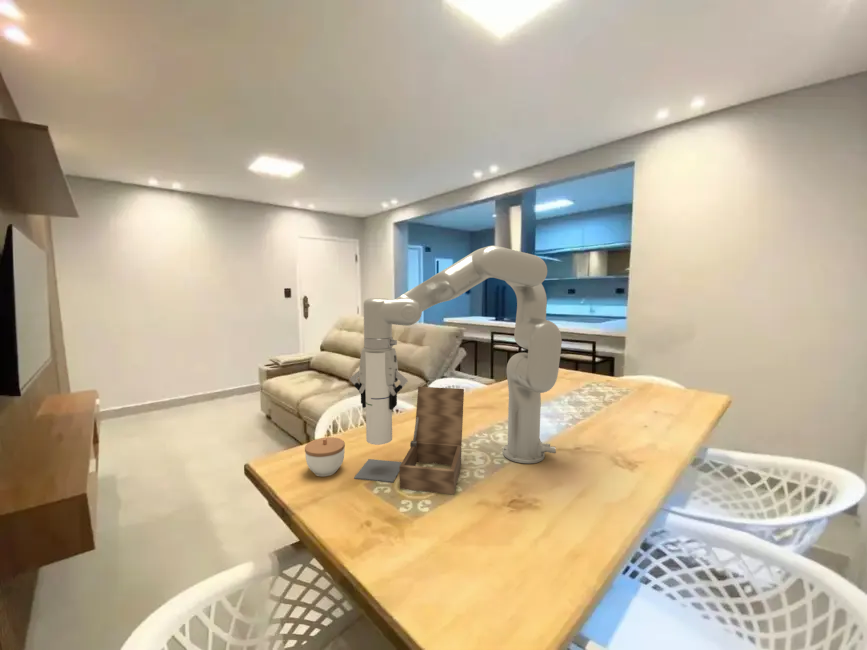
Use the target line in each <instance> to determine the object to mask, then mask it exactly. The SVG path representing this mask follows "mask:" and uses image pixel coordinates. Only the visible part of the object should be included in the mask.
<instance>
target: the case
mask: <svg viewBox="0 0 867 650" xmlns="http://www.w3.org/2000/svg"><path fill="white" fill-rule="evenodd" d="M464 397H465V389H464V388H453V387H430V386H418V387H417V400H416V411H415V412H416V413H415V425H414V432H413V439H412V440H411V441H410V444H409V445H410V447H409V450H408V451H407V453H406V455H405V456H404V458H403V460H402V461H401V462H402V463H401V465H400V466H399V469H400V472H399V489H400V490H406V491H407V490H409V491H417V492H428V493H437V494H444V495H445V494H446V495H455V493H456V492H455V491H456V489H457V488H456V487H457V484H458V483H457V482H458V480H459V475H460V471H461V468H462V445H463V442H462V441H463V440H462V439H463V422H464V421H463V420H464V419H463V418H464V401H465V399H464ZM418 463H420V464H421V463H422V464H432V465H443V466H451V467H450V468H443V467H442V468H440V467H432V466H431V467H429V466H420V465H418V466H417V464H418Z"/></svg>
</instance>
